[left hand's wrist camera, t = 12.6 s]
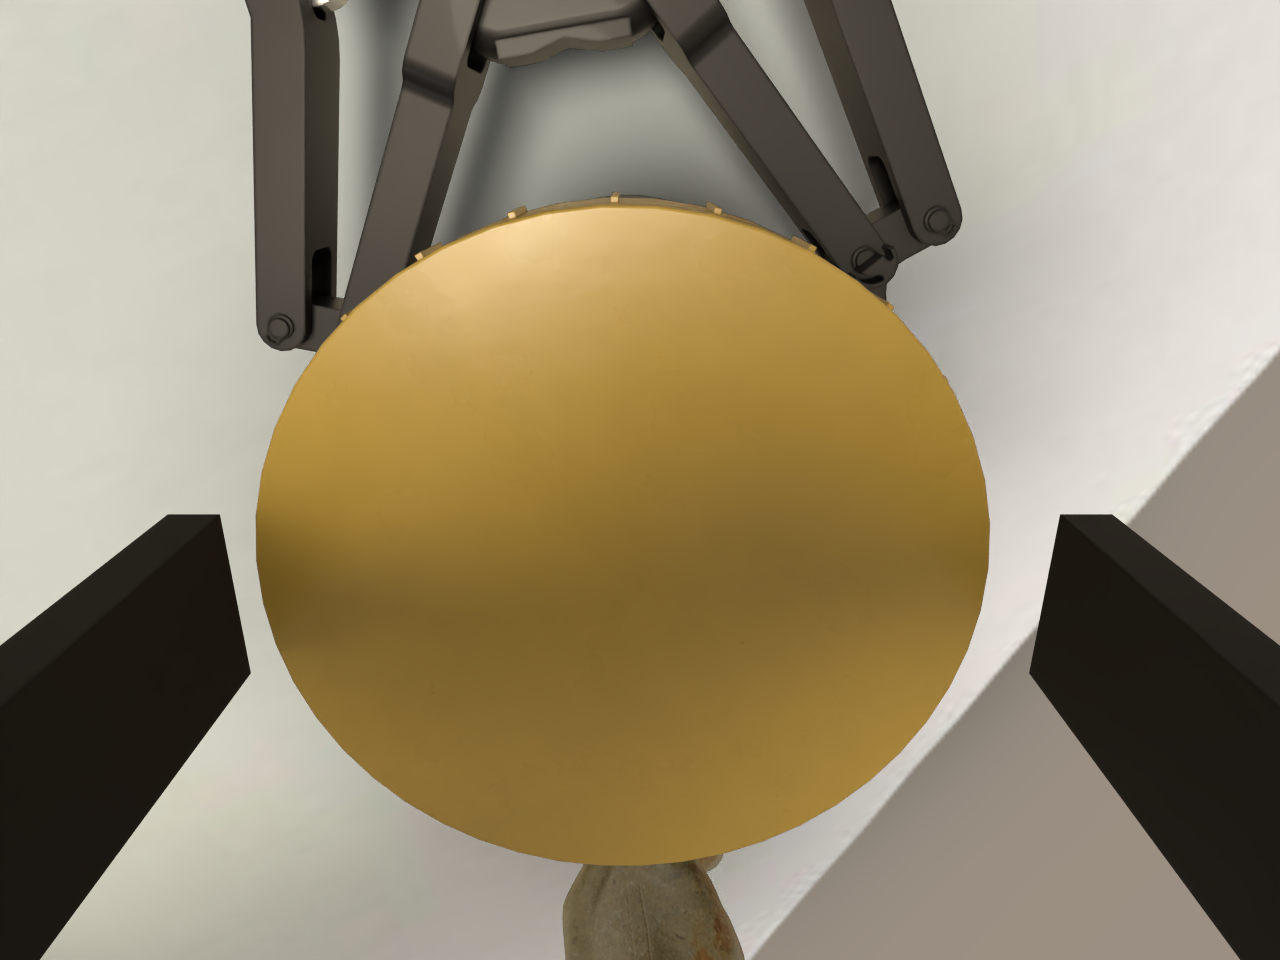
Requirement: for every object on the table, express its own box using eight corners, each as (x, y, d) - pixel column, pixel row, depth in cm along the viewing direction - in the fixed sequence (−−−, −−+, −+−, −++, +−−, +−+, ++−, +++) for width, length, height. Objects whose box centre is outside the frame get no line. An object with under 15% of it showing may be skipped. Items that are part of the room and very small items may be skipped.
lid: (593, 16, 12) (587, -6, 11) (1086, 511, 15) (1148, 560, 13) (170, 555, 15) (107, 610, 14) (647, 883, 18) (649, 965, 16)
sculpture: (612, 859, 37) (602, 1285, 23) (550, 730, 35) (496, 1120, 21) (740, 822, 37) (808, 1239, 23) (686, 688, 34) (725, 1062, 20)
